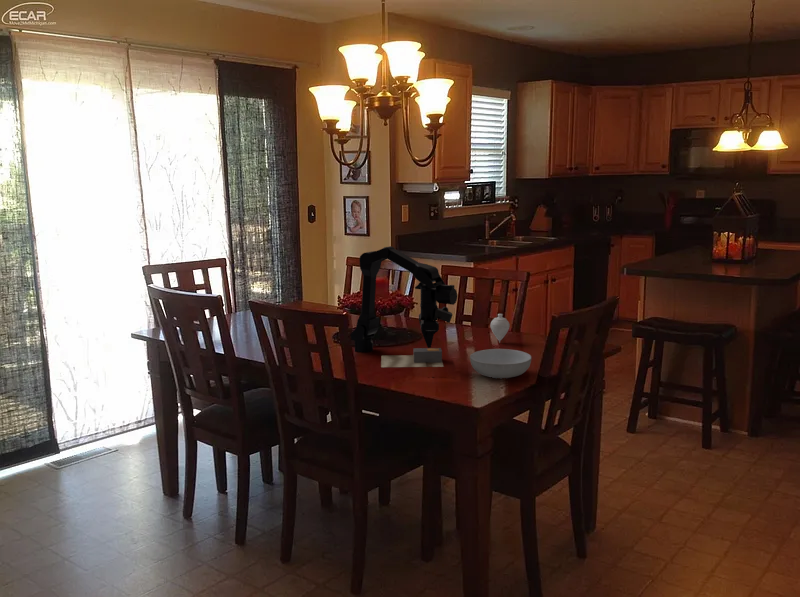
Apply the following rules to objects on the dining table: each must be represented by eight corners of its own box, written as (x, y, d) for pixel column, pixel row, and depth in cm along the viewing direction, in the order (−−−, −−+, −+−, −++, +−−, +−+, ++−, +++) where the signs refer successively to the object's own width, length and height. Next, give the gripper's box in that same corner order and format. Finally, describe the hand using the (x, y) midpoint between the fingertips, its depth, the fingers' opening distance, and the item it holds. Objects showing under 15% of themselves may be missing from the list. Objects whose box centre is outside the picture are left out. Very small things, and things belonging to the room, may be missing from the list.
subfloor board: (381, 371, 254) (381, 367, 254) (381, 359, 270) (381, 355, 270) (443, 370, 255) (443, 366, 254) (440, 358, 271) (440, 354, 270)
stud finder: (414, 362, 260) (414, 351, 259) (413, 359, 265) (413, 347, 264) (441, 362, 260) (441, 351, 259) (440, 358, 265) (440, 347, 264)
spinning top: (488, 344, 292) (489, 315, 290) (491, 340, 299) (492, 311, 297) (507, 345, 290) (508, 316, 288) (510, 341, 297) (511, 312, 295)
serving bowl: (493, 363, 264) (493, 345, 263) (542, 374, 249) (543, 355, 248) (457, 375, 249) (457, 356, 248) (507, 388, 235) (507, 367, 234)
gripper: (453, 306, 249) (453, 350, 252) (448, 297, 268) (448, 338, 270) (421, 307, 249) (421, 351, 252) (418, 297, 267) (418, 338, 270)
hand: (428, 344), depth 261 cm, fingers open, 9 cm apart
